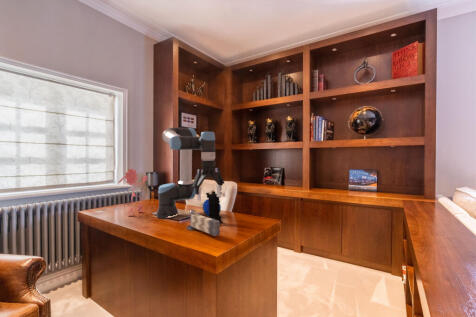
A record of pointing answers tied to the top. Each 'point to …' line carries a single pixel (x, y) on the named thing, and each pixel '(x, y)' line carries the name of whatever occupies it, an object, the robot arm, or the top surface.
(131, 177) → the figurine
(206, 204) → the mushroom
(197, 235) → the top surface
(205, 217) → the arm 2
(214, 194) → the chess piece
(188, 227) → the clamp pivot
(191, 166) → the robot arm
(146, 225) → the top surface
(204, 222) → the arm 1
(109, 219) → the top surface
